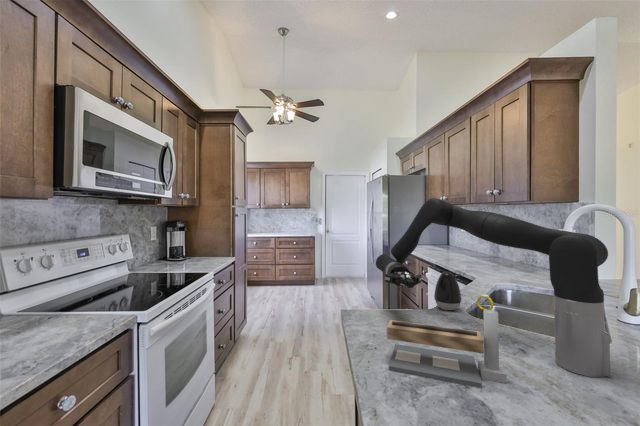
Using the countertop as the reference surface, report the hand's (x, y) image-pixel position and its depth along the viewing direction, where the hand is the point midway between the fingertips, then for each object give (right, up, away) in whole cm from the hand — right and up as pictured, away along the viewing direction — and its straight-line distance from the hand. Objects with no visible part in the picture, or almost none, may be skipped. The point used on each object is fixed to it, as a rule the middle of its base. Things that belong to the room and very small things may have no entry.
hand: (410, 284), depth 87 cm
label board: (+3, -16, -17) cm, 24 cm away
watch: (+39, -17, +27) cm, 50 cm away
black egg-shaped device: (+25, -17, +28) cm, 41 cm away
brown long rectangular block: (0, -10, -16) cm, 19 cm away
